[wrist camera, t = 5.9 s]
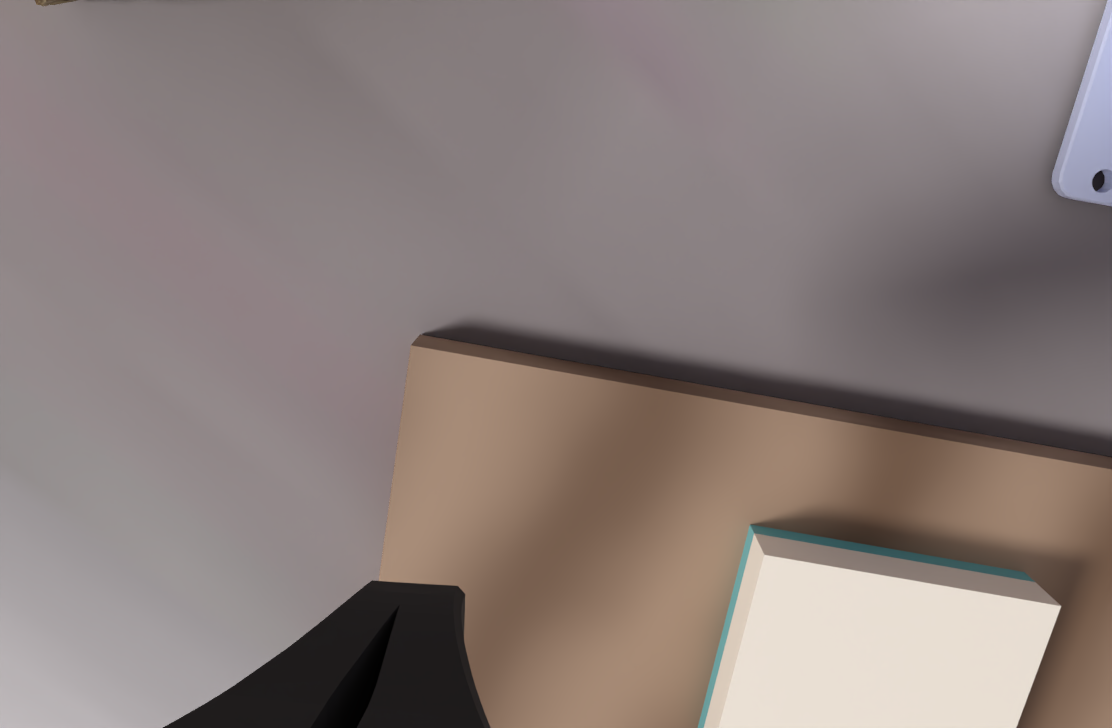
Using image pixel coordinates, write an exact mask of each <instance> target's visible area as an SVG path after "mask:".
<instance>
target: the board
mask: <svg viewBox="0 0 1112 728" xmlns="http://www.w3.org/2000/svg"><path fill="white" fill-rule="evenodd" d="M750 524H751V525H756V526H762V527H768V528H774V529H779V530H785V531H791V532H797V533H802V534H808V535H814V536H820V537H825V538H831V539H837V540H843V541H848V542H854V543H860V544H866V545H871V546H877V547H883V548H889V549H895V550H900V551H906V552H912V553H918V554H923V555H929V556H935V557H941V558H946V559H952V560H958V561H964V562H969V563H975V564H981V565H987V566H992V567H998V568H1004V569H1010V570H1015V571H1021V572H1025V573H1026V574H1027V575H1028V576H1029V577H1030V578H1031V579H1033V580H1034V581H1035V582H1036V583H1037V584H1038V585H1039V586H1040V587H1041V588H1042V589H1043V590H1044V591H1045V592H1047V593H1048V594H1049V595H1050V596H1051V597H1052V598H1053V599H1054V600H1055V601H1056V602H1057V603H1058V604H1060V605H1061V608H1060V611H1059V614H1058V617H1057V619H1056V622H1055V625H1054V627H1053V630H1052V633H1051V635H1050V638H1049V641H1048V644H1047V646H1046V649H1045V652H1044V654H1043V657H1042V660H1041V663H1040V665H1039V668H1038V671H1037V673H1036V676H1035V679H1034V681H1033V684H1032V687H1031V690H1030V692H1029V695H1028V698H1027V700H1026V703H1025V706H1024V708H1023V711H1022V714H1021V717H1020V719H1019V722H1018V725H1017V727H1016V728H1112V457H1107V456H1102V455H1096V454H1090V453H1085V452H1079V451H1073V450H1068V449H1062V448H1057V447H1051V446H1045V445H1040V444H1034V443H1028V442H1023V441H1017V440H1011V439H1006V438H1000V437H995V436H989V435H983V434H978V433H972V432H966V431H961V430H955V429H949V428H944V427H938V426H933V425H927V424H921V423H916V422H910V421H904V420H899V419H893V418H887V417H882V416H876V415H871V414H865V413H859V412H854V411H848V410H842V409H837V408H831V407H825V406H820V405H814V404H808V403H803V402H797V401H792V400H786V399H780V398H775V397H769V396H763V395H758V394H752V393H746V392H741V391H735V390H730V389H724V388H718V387H713V386H707V385H701V384H696V383H690V382H684V381H679V380H673V379H668V378H662V377H656V376H651V375H645V374H639V373H634V372H628V371H622V370H617V369H611V368H605V367H600V366H594V365H589V364H583V363H577V362H572V361H566V360H560V359H555V358H549V357H543V356H538V355H532V354H527V353H521V352H515V351H510V350H504V349H498V348H493V347H487V346H481V345H476V344H470V343H465V342H459V341H453V340H448V339H442V338H436V337H431V336H425V335H419V337H418V338H417V339H416V340H415V341H414V342H413V344H412V345H411V348H410V356H409V363H408V370H407V378H406V385H405V392H404V400H403V407H402V414H401V422H400V429H399V436H398V443H397V451H396V458H395V465H394V473H393V480H392V487H391V495H390V502H389V509H388V517H387V524H386V531H385V539H384V546H383V553H382V561H381V568H380V575H379V581H386V582H403V583H419V584H436V585H452V586H458V587H459V588H460V589H461V590H462V591H463V592H464V593H465V623H464V643H465V648H466V652H467V656H468V661H469V665H470V669H471V673H472V676H473V680H474V683H475V686H476V690H477V693H478V695H479V698H480V701H481V704H482V707H483V710H484V712H485V715H486V717H487V720H488V722H489V725H490V727H491V728H698V724H699V720H700V717H701V713H702V709H703V705H704V701H705V697H706V693H707V689H708V685H709V682H710V678H711V674H712V670H713V666H714V662H715V658H716V654H717V650H718V646H719V643H720V639H721V635H722V631H723V627H724V623H725V619H726V615H727V611H728V608H729V604H730V600H731V596H732V592H733V588H734V584H735V580H736V576H737V572H738V569H739V565H740V561H741V557H742V553H743V549H744V545H745V541H746V537H747V534H748V530H749V526H750Z"/></svg>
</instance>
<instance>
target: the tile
mask: <svg viewBox="0 0 1112 728" xmlns="http://www.w3.org/2000/svg"><path fill="white" fill-rule="evenodd" d="M1060 608H1061V605H1060V604H1058V603H1057V602H1056V601H1055V600H1054V599H1053V598H1052V597H1051V596H1050V595H1049V594H1048V593H1047V592H1045V591H1044V590H1043V589H1042V588H1041V587H1040V586H1039V585H1038V584H1037V583H1036V582H1035V581H1034V580H1033V579H1031V578H1030V577H1029V576H1028V575H1027V574H1026V573H1025V572H1021V571H1015V570H1010V569H1004V568H998V567H992V566H987V565H981V564H975V563H969V562H964V561H958V560H952V559H946V558H941V557H935V556H929V555H923V554H918V553H912V552H906V551H900V550H895V549H889V548H883V547H877V546H871V545H866V544H860V543H854V542H848V541H843V540H837V539H831V538H825V537H820V536H814V535H808V534H802V533H797V532H791V531H785V530H779V529H774V528H768V527H762V526H756V525H751V524H750V526H749V530H748V534H747V537H746V541H745V545H744V549H743V553H742V557H741V561H740V565H739V569H738V572H737V576H736V580H735V584H734V588H733V592H732V596H731V600H730V604H729V608H728V611H727V615H726V619H725V623H724V627H723V631H722V635H721V639H720V643H719V646H718V650H717V654H716V658H715V662H714V666H713V670H712V674H711V678H710V682H709V685H708V689H707V693H706V697H705V701H704V705H703V709H702V713H701V717H700V720H699V724H698V728H1016V727H1017V725H1018V722H1019V719H1020V717H1021V714H1022V711H1023V708H1024V706H1025V703H1026V700H1027V698H1028V695H1029V692H1030V690H1031V687H1032V684H1033V681H1034V679H1035V676H1036V673H1037V671H1038V668H1039V665H1040V663H1041V660H1042V657H1043V654H1044V652H1045V649H1046V646H1047V644H1048V641H1049V638H1050V635H1051V633H1052V630H1053V627H1054V625H1055V622H1056V619H1057V617H1058V614H1059V611H1060Z"/></svg>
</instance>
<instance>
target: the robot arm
mask: <svg viewBox="0 0 1112 728" xmlns="http://www.w3.org/2000/svg"><path fill="white" fill-rule="evenodd" d="M1099 171H1102V172H1103V174H1104V176H1105V181H1104V184H1103V186H1102V187H1101V188H1100V189H1099V190H1097V191H1095V190H1094V188H1093V186H1092V179H1093V177H1094V176H1095V174H1096V173H1097V172H1099ZM1052 185H1053V188H1054V190H1055V191H1056V192H1057V194H1058V195H1060V196H1062V197H1064V198H1067V199H1072V200H1078V201H1083V202H1089V203H1094V204H1100V205H1105V206H1110V207H1112V0H1108V1H1107V4H1106V7H1105V11H1104V14H1103V17H1102V20H1101V23H1100V26H1099V29H1098V32H1097V36H1096V39H1095V42H1094V45H1093V48H1092V51H1091V54H1090V57H1089V61H1088V64H1087V67H1086V70H1085V73H1084V76H1083V79H1082V82H1081V86H1080V89H1079V92H1078V95H1077V98H1076V101H1075V104H1074V108H1073V111H1072V114H1071V117H1070V120H1069V123H1068V126H1067V129H1066V133H1065V136H1064V139H1063V142H1062V145H1061V148H1060V151H1059V154H1058V158H1057V161H1056V164H1055V167H1054V170H1053V174H1052ZM464 623H465V593H464V592H463V591H462V590H461V589H460V588H459V587H458V586H452V585H436V584H419V583H403V582H386V581H371V582H370V583H368V584H367V585H366V586H364V587H363V588H362V589H361V590H359V591H358V592H357V593H356V594H354V595H353V596H352V597H351V598H350V599H348V600H347V601H346V602H345V603H343V604H342V605H341V606H340V607H339V608H337V609H336V610H335V611H334V612H333V613H331V614H330V615H329V616H328V617H326V618H325V619H324V620H323V621H322V622H320V623H319V624H318V625H317V626H315V627H314V628H313V629H311V630H310V631H309V632H308V633H306V634H305V635H304V636H303V637H301V638H300V639H299V640H298V641H296V642H295V643H294V644H292V645H291V646H290V647H288V648H287V649H286V650H284V651H283V652H281V653H280V654H279V655H277V656H276V657H274V658H273V659H271V660H270V661H269V662H267V663H266V664H264V665H263V666H262V667H260V668H259V669H257V670H256V671H254V672H253V673H252V674H250V675H249V676H247V677H246V678H244V679H243V680H242V681H240V682H239V683H237V684H236V685H234V686H233V687H231V688H230V689H228V690H227V691H225V692H223V693H222V694H220V695H219V696H217V697H215V698H214V699H212V700H211V701H209V702H207V703H206V704H204V705H202V706H201V707H199V708H197V709H195V710H194V711H192V712H190V713H188V714H186V715H185V716H183V717H181V718H179V719H178V720H176V721H174V722H172V723H171V724H169V725H167V726H165V727H163V728H491V727H490V725H489V722H488V720H487V717H486V715H485V712H484V710H483V707H482V704H481V701H480V698H479V695H478V693H477V690H476V686H475V683H474V680H473V676H472V673H471V669H470V665H469V661H468V656H467V652H466V648H465V643H464Z"/></svg>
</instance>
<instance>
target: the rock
mask: <svg viewBox="0 0 1112 728" xmlns="http://www.w3.org/2000/svg"><path fill="white" fill-rule="evenodd" d="M72 1H77V0H35V2H36V4H37V5H41V6H47V5H49V4H50V5H56V4H61V3H67V2H72Z"/></svg>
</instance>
